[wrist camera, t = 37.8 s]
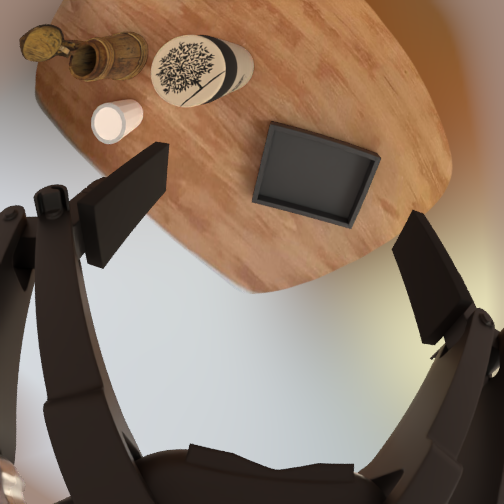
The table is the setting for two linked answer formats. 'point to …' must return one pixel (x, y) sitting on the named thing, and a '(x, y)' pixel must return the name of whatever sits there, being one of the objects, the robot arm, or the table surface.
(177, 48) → the travel mug
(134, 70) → the wooden mug
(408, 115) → the table surface
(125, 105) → the white cup
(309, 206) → the tray
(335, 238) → the table surface
